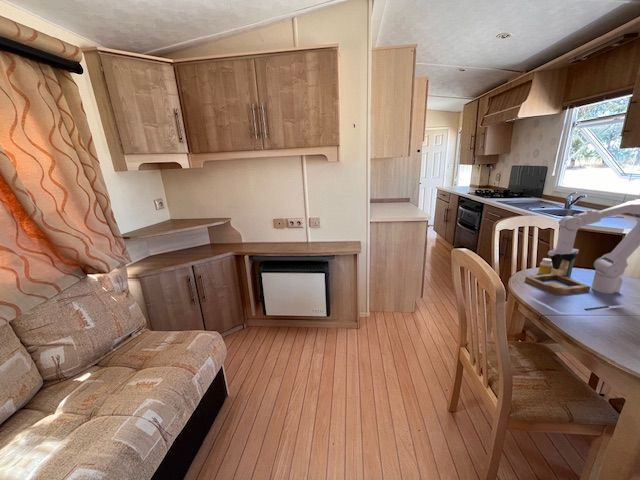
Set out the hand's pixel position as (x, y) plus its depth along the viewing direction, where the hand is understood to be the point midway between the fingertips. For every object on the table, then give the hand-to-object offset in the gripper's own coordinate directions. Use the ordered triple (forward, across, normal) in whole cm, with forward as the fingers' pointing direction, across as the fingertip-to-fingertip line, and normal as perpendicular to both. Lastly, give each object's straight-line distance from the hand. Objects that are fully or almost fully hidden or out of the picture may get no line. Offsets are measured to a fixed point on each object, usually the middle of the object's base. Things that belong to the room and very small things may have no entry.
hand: (559, 268), depth 126 cm
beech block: (+3, 0, 0) cm, 3 cm away
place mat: (+10, +2, +14) cm, 18 cm away
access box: (+10, 0, 0) cm, 10 cm away
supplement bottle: (+11, -8, -13) cm, 19 cm away
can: (+11, -17, -11) cm, 23 cm away
